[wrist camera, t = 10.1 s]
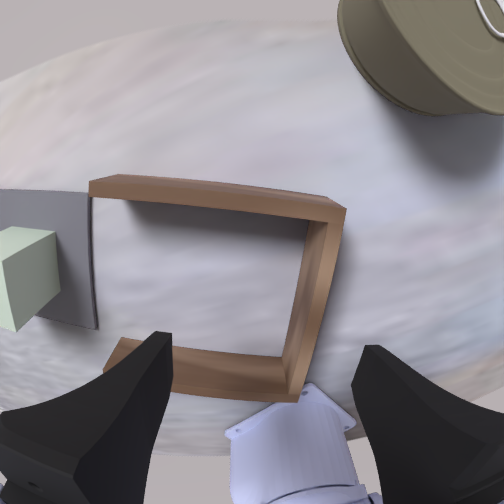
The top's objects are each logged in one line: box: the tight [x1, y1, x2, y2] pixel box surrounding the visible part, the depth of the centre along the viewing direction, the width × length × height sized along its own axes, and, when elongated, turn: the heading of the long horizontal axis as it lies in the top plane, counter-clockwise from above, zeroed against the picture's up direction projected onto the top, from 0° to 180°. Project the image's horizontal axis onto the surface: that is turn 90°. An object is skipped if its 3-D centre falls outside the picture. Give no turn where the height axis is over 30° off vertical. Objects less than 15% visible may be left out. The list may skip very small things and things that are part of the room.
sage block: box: [0, 226, 61, 332], centre depth 16 cm, size 4×4×6 cm
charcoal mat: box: [0, 189, 97, 330], centre depth 19 cm, size 10×10×1 cm
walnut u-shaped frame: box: [89, 174, 347, 403], centre depth 18 cm, size 13×13×4 cm
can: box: [337, 0, 504, 116], centre depth 12 cm, size 12×12×7 cm
